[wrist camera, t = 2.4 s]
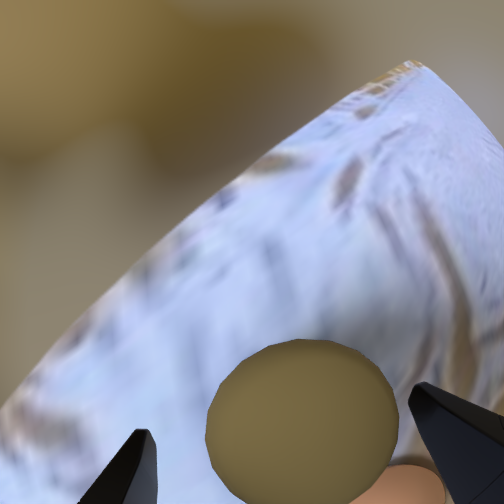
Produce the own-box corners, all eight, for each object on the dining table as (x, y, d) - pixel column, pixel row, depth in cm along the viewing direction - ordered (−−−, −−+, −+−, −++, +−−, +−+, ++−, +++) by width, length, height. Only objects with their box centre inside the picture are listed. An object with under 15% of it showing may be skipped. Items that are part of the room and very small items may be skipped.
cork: (311, 357, 16) (415, 296, 7) (320, 452, 14) (435, 504, 4) (208, 364, 16) (174, 314, 6) (215, 462, 13) (193, 557, 3)
